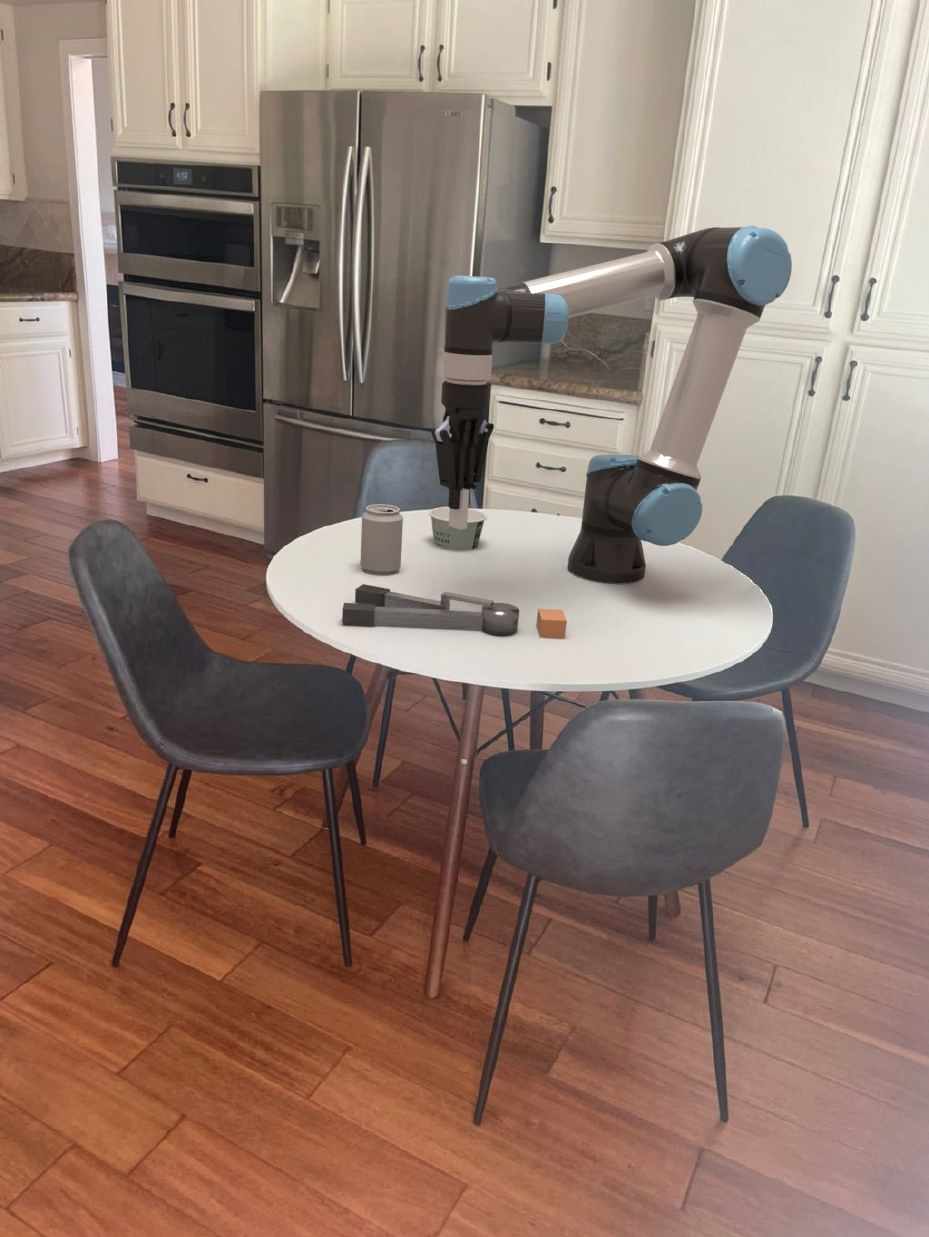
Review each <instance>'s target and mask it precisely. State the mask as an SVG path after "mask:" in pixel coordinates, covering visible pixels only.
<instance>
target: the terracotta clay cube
mask: <svg viewBox="0 0 929 1237" xmlns="http://www.w3.org/2000/svg"><path fill="white" fill-rule="evenodd" d="M567 622H568V620H567V618H566V616H565V613H564V611H563V609H556V608H555V609H554V608H553V609H552V608H537V615H536V623H535V624H536V625H535V626H536V629H537V632H538V636H539V638H550V639H551V638H556V639H566V632H567Z"/></svg>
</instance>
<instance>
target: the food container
mask: <svg viewBox="0 0 929 1237" xmlns="http://www.w3.org/2000/svg"><path fill="white" fill-rule="evenodd" d="M449 511H450V508H449V506H441V507H436V508H432V509H430V510H429V512H428V515H429V516H430V520H431V530H432V538H433V544H434V545H435V546H436V547H438V548H441V549H444V550H449V551H471V550H476V549H477V548H478V546H479V543H480V540H481V539H480V538H481V534H482V532H483V526H484V523H485V521H486V519H487V518H488V516H487V514H486V513H485V512H483V511H480V510H479V509H475V508H469V507H468V519H467V528H466V529H462V530H460V529H457V528H453V527H450V526H449Z"/></svg>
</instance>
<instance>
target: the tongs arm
mask: <svg viewBox="0 0 929 1237" xmlns="http://www.w3.org/2000/svg"><path fill="white" fill-rule="evenodd" d="M354 592H355V593H354V595H355V596H354V603H359V604H375V607H395V608H415V609H435V610H450V609H451V600H452V601H457V602H463V603H467V604H473V605H478V606H487V607H491V606H492V605H493V604H494V603H495V600H492V599H487V598H482V597H477V596H472V595H466V594H461V593H456V592H455V593H454V592H451V591H446V590H444V591H443V592H442V593H441V594H440V600H438V599H437V600H436V599H431V598H427V597H423V596H422V597H421V596H415V595H411V594H406V593H400V592H394V591H391V589H390V588H385V587H381V586H375V585H370V584H367V583H366V584H365V583H363V584H361V585H359V586H358V587H356V588H355V590H354Z"/></svg>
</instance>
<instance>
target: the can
mask: <svg viewBox="0 0 929 1237" xmlns="http://www.w3.org/2000/svg"><path fill="white" fill-rule="evenodd" d="M400 509H401V508H400V507H398V506H396V505H391V504H384V503H382V504H381V503H379V504H376V503H375V504H369V505H367V506H366V507H365V512H363V513H362V516H361V532H360V533H361V534H360V535H361V537H360V538H361V540H360V541H361V542H360V563H359V564H360V566H361V568H363V570H364V571H365V572H367V573H370V574H374V575H382V576H383V575H391V574H394V573H395V572H396V571H398V570H399V569H400V568H401V567H402V566H401V565H402V564H401V563H402V546H403V544H402V542H403V525H404V517H403V515H402V514H401V513H400V511H401V510H400Z"/></svg>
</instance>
